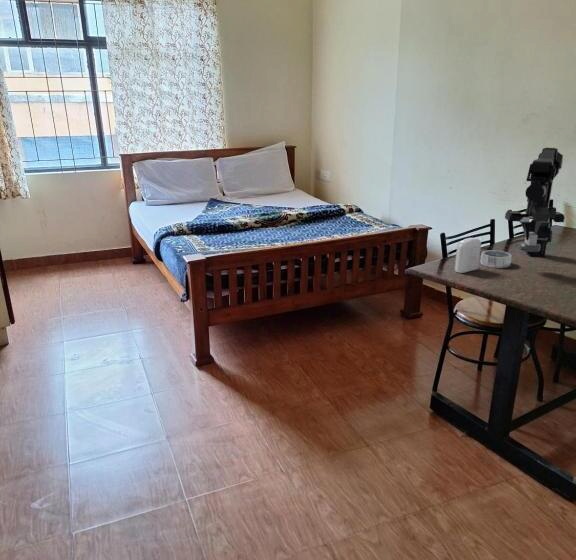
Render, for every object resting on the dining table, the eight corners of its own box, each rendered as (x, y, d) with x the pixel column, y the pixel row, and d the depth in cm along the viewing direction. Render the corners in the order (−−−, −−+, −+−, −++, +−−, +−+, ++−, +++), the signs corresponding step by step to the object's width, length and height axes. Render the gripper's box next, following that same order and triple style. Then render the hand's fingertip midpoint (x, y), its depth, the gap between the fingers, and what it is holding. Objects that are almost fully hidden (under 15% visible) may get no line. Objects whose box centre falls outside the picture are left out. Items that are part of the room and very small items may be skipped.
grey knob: (536, 247, 187) (538, 231, 185) (542, 252, 180) (545, 235, 179) (516, 246, 188) (518, 231, 186) (522, 251, 181) (524, 235, 179)
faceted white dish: (505, 260, 200) (506, 250, 199) (513, 268, 190) (514, 258, 189) (477, 259, 201) (478, 249, 200) (484, 267, 191) (485, 257, 190)
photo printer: (470, 266, 192) (473, 235, 188) (479, 269, 188) (483, 237, 184) (452, 271, 186) (455, 238, 183) (461, 274, 183) (465, 241, 179)
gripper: (517, 200, 172) (510, 244, 177) (574, 201, 169) (566, 246, 174) (507, 195, 182) (501, 237, 187) (561, 196, 180) (554, 238, 185)
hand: (530, 239), depth 183 cm, fingers closed on grey knob, 2 cm apart
